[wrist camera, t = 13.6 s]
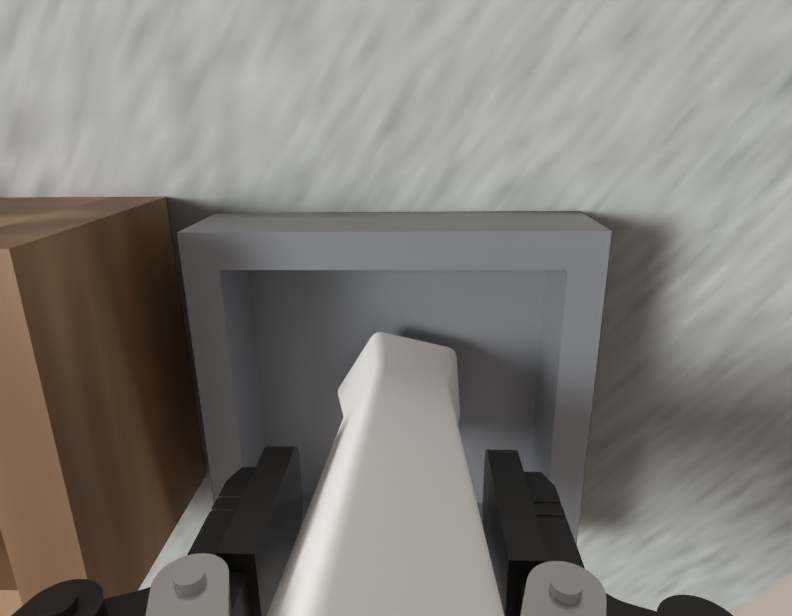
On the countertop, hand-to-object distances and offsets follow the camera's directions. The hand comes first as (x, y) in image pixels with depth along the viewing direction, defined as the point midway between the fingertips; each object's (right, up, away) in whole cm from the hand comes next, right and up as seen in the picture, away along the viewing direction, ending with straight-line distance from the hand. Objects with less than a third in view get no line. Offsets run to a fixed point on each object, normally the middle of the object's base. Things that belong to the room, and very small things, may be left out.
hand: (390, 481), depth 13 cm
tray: (0, +2, +6) cm, 6 cm away
